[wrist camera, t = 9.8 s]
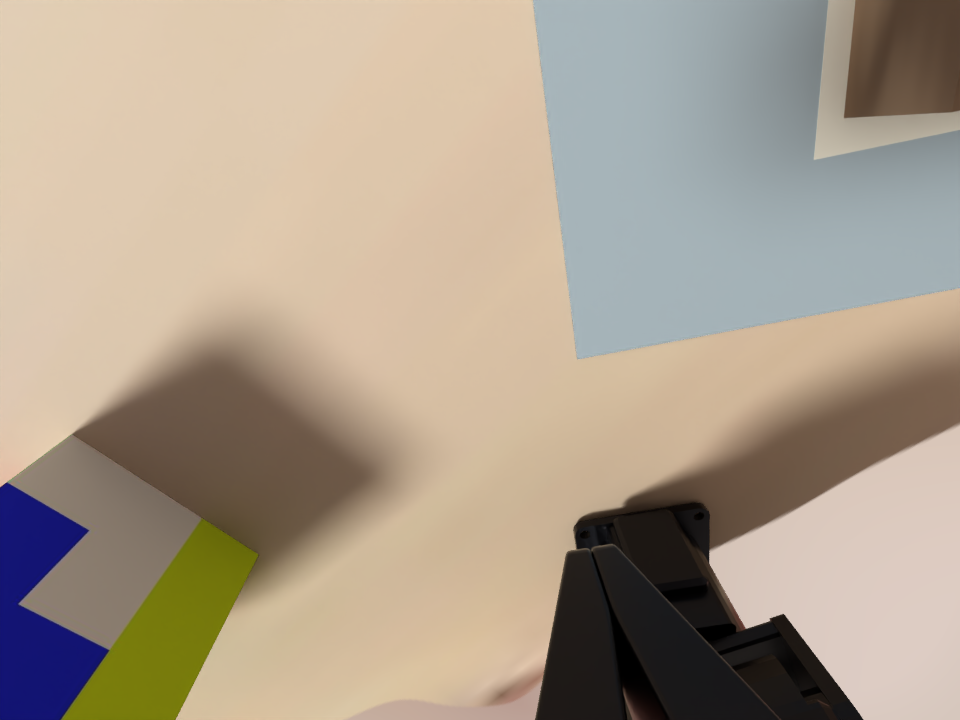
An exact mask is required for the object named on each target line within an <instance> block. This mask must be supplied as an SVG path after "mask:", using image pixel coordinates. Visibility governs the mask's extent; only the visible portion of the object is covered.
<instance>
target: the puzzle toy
mask: <svg viewBox="0 0 960 720" xmlns="http://www.w3.org/2000/svg"><path fill="white" fill-rule="evenodd" d="M257 557H258V554H257V553H255V552H254V551H252V550H251V549H249V548H248V547H246V546H244V545H243V544H241V543H240V542H238V541H237V540H235V539H234V538H232V537H231V536H229V535H227V534H226V533H224V532H223V531H221V530H220V529H218V528H217V527H215V526H213V525H212V524H210V523H209V522H207V521H206V520H204V519H203V518H201V517H199V516H198V515H196V514H195V513H193V512H192V511H190V510H189V509H187V508H186V507H184V506H182V505H181V504H179V503H178V502H176V501H175V500H173V499H172V498H170V497H168V496H167V495H165V494H164V493H162V492H161V491H159V490H158V489H156V488H154V487H153V486H151V485H150V484H148V483H147V482H145V481H144V480H142V479H141V478H139V477H137V476H136V475H134V474H133V473H131V472H130V471H128V470H127V469H125V468H123V467H122V466H120V465H119V464H117V463H116V462H114V461H113V460H111V459H110V458H108V457H106V456H105V455H103V454H102V453H100V452H99V451H97V450H96V449H94V448H92V447H91V446H89V445H88V444H86V443H85V442H83V441H82V440H80V439H78V438H77V437H75V436H74V435H72V434H71V435H70V436H69V437H67V438H66V439H65V440H63V441H62V442H61V443H59V444H58V445H56V446H55V447H54V448H52V449H51V450H50V451H48V452H47V453H46V454H44V455H43V456H42V457H40V458H39V459H38V460H36V461H35V462H34V463H32V464H31V465H30V466H28V467H27V468H26V469H24V470H23V471H22V472H20V473H19V474H17V475H16V476H15V477H13V478H12V479H11V480H9V481H8V482H7V483H5V484H4V485H3V486H1V487H0V720H176V718H177V716H178V714H179V712H180V710H181V708H182V706H183V704H184V702H185V700H186V698H187V696H188V694H189V692H190V690H191V688H192V686H193V684H194V682H195V680H196V678H197V676H198V674H199V672H200V670H201V668H202V666H203V664H204V662H205V660H206V658H207V656H208V654H209V652H210V650H211V648H212V646H213V644H214V642H215V640H216V638H217V637H218V635H219V633H220V631H221V629H222V627H223V625H224V623H225V621H226V619H227V617H228V615H229V613H230V611H231V609H232V607H233V605H234V603H235V601H236V599H237V597H238V595H239V593H240V591H241V589H242V587H243V585H244V583H245V581H246V579H247V577H248V575H249V573H250V571H251V569H252V567H253V565H254V563H255V561H256V559H257Z"/></svg>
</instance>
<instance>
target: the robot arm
mask: <svg viewBox="0 0 960 720" xmlns="http://www.w3.org/2000/svg"><path fill="white" fill-rule="evenodd" d="M698 512H699V513H698ZM696 513H698V514H696ZM709 520H710V514H709V511H708V510H707V508H706V507H705V505H704V504H702V503H690V504H684V505H678V506H672V507H666V508H660V509H654V510H648V511H642V512H636V513H629V514H623V515H617V516H611V517H605V518H599V519H593V520H587V521H582V522H579V523H577V524H576V525H575V526H574V529H573V531H574V538H575V544H576V550H571V551H568V552H567V554H566V557H565V562H564V568H563V573H562V579H561V584H560V589H559V595H558V600H557V605H556V611H555V616H554V622H553V627H552V632H551V638H550V643H549V648H548V654H547V659H546V665H545V670H544V675H543V681H542V686H541V691H540V697H539V702H538V708H537V713H536V718H535V720H863V719H862V717H861V716H860V714H859V713H858V711H857V710H856V708H855V707H854V706H853V704H852V703H851V702H850V700H849V699H848V698H847V696H846V695H845V694H844V692H843V691H842V690H841V688H840V687H839V686H838V684H837V683H836V682H835V681H834V679H833V678H832V677H831V675H830V674H829V673H828V671H827V670H826V669H825V667H824V666H823V665H822V663H821V662H820V661H819V660H818V658H817V657H816V656H815V654H814V653H813V652H812V650H811V649H810V648H809V646H808V645H807V644H806V642H805V641H804V640H803V639H802V637H801V636H800V635H799V633H798V632H797V631H796V629H795V628H794V627H793V626H792V624H791V623H790V621H789V620H788V619H787V618H786V616H785V615H784V614H782V615H779V616H776V617H773V618H770V621H769V622H766V623H763V624H760V625H757V626H754V627H751V628H748V629H746V628H745V627H744V625H743V623H742V621H741V620H740V618H739V616H738V614H737V612H736V611H735V609H734V607H733V605H732V604H731V602H730V600H729V598H728V596H727V595H726V593H725V591H724V589H723V588H722V586H721V584H720V582H719V580H718V579H717V577H716V575H715V573H714V572H713V570H712V568H711V566H710V564H709ZM583 531H587V532H584V533H581V532H583Z"/></svg>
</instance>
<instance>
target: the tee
mask: <svg viewBox="0 0 960 720" xmlns="http://www.w3.org/2000/svg"><path fill="white" fill-rule="evenodd" d="M955 111H960V0H855V10H854V20H853V30H852V40H851V50H850V60H849V70H848V80H847V90H846V100H845V110H844V118H856V117H874V116H893V115H911V114H929V113H948V112H955Z"/></svg>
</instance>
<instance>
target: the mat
mask: <svg viewBox="0 0 960 720" xmlns="http://www.w3.org/2000/svg"><path fill="white" fill-rule="evenodd" d="M533 4H534V13H535V21H536V29H537V37H538V45H539V53H540V61H541V69H542V77H543V86H544V94H545V102H546V110H547V118H548V126H549V134H550V142H551V150H552V158H553V167H554V175H555V183H556V191H557V199H558V207H559V215H560V223H561V231H562V240H563V248H564V256H565V264H566V272H567V280H568V288H569V296H570V304H571V313H572V321H573V329H574V337H575V345H576V353H577V359H582V358H587V357H593V356H598V355H604V354H609V353H614V352H620V351H625V350H630V349H636V348H641V347H646V346H652V345H657V344H663V343H668V342H673V341H679V340H684V339H689V338H695V337H700V336H705V335H711V334H716V333H722V332H727V331H732V330H738V329H743V328H748V327H754V326H759V325H765V324H770V323H775V322H781V321H786V320H791V319H797V318H802V317H807V316H813V315H818V314H824V313H829V312H834V311H840V310H845V309H850V308H856V307H861V306H866V305H872V304H877V303H883V302H888V301H893V300H899V299H904V298H909V297H915V296H920V295H926V294H931V293H936V292H942V291H947V290H952V289H958V288H960V111H955V112H948V113H929V114H911V115H893V116H874V117H856V118H844V110H845V100H846V90H847V80H848V70H849V60H850V50H851V40H852V30H853V20H854V10H855V0H533Z"/></svg>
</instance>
